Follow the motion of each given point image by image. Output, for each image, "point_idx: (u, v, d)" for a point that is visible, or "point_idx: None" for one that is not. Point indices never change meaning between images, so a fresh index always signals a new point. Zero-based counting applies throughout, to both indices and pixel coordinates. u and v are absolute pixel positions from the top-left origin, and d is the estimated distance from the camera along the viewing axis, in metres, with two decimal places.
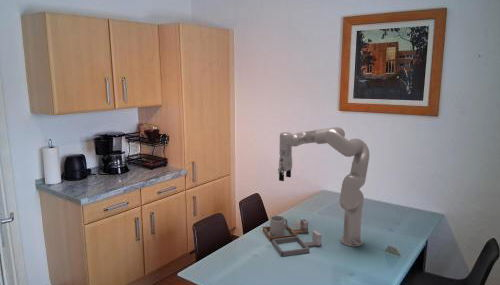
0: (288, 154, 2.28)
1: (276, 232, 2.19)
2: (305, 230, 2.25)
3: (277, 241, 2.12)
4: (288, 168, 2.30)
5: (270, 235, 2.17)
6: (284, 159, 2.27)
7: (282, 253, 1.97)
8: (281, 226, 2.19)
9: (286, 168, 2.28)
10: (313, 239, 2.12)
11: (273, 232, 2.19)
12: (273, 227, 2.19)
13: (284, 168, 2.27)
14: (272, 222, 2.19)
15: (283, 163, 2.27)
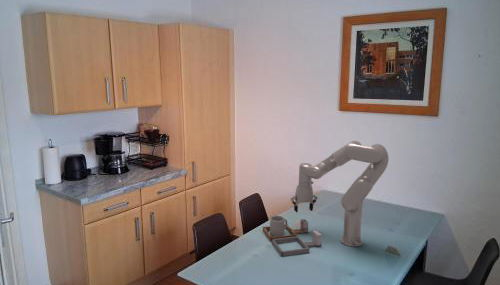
0: None
1: (276, 232, 2.19)
2: (305, 230, 2.25)
3: (277, 241, 2.12)
4: None
5: (270, 235, 2.17)
6: None
7: (282, 253, 1.97)
8: (281, 226, 2.19)
9: None
10: (313, 239, 2.12)
11: (273, 232, 2.19)
12: (273, 227, 2.19)
13: None
14: (272, 222, 2.19)
15: None
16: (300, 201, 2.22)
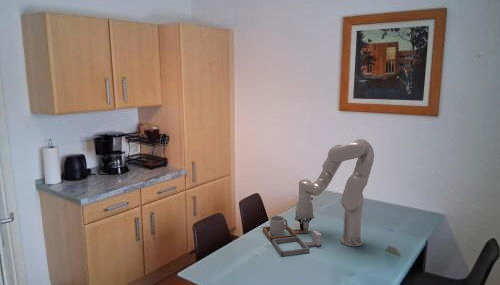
0: None
1: (276, 232, 2.19)
2: (305, 230, 2.25)
3: (277, 241, 2.12)
4: None
5: (270, 235, 2.17)
6: None
7: (282, 253, 1.97)
8: (281, 226, 2.19)
9: None
10: (313, 239, 2.12)
11: (273, 232, 2.19)
12: (273, 227, 2.19)
13: None
14: (272, 222, 2.19)
15: None
16: (300, 217, 2.24)
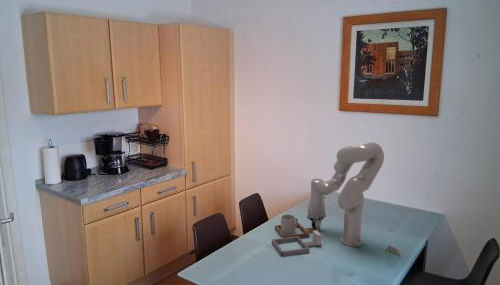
0: None
1: (287, 231, 2.20)
2: (317, 229, 2.27)
3: (277, 241, 2.12)
4: None
5: None
6: None
7: (282, 253, 1.97)
8: (292, 225, 2.20)
9: None
10: (313, 239, 2.12)
11: (284, 231, 2.21)
12: (284, 226, 2.21)
13: None
14: (283, 221, 2.21)
15: None
16: (313, 216, 2.26)
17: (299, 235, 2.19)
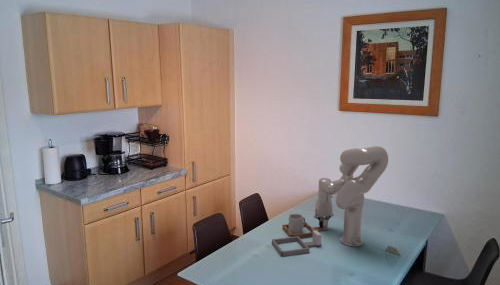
0: None
1: (295, 230, 2.22)
2: (325, 228, 2.28)
3: (277, 241, 2.12)
4: None
5: (291, 233, 2.21)
6: None
7: (282, 253, 1.97)
8: (300, 224, 2.22)
9: None
10: (313, 239, 2.12)
11: (292, 230, 2.22)
12: (292, 225, 2.22)
13: None
14: (291, 220, 2.22)
15: None
16: (320, 215, 2.27)
17: (307, 234, 2.20)
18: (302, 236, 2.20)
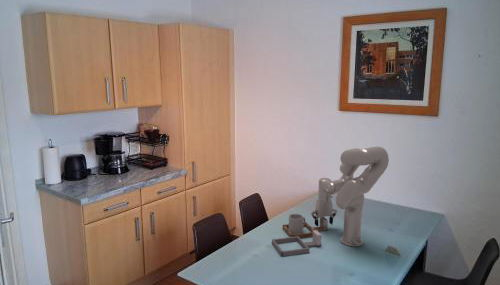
0: None
1: (295, 230, 2.22)
2: (325, 228, 2.28)
3: (277, 241, 2.12)
4: None
5: (291, 233, 2.21)
6: None
7: (282, 253, 1.97)
8: (300, 224, 2.22)
9: None
10: (313, 239, 2.12)
11: (292, 230, 2.22)
12: (292, 225, 2.22)
13: None
14: (291, 220, 2.22)
15: None
16: (320, 215, 2.27)
17: (307, 234, 2.20)
18: (302, 236, 2.20)
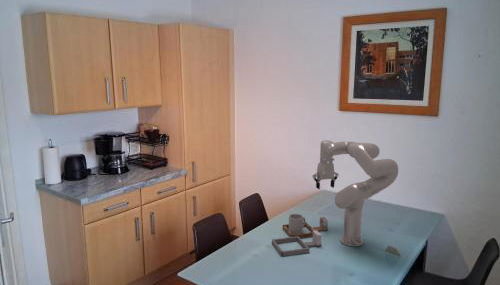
0: None
1: (295, 230, 2.22)
2: (325, 228, 2.28)
3: (277, 241, 2.12)
4: None
5: (291, 233, 2.21)
6: None
7: (282, 253, 1.97)
8: (300, 224, 2.22)
9: None
10: (313, 239, 2.12)
11: (292, 230, 2.22)
12: (292, 225, 2.22)
13: None
14: (291, 220, 2.22)
15: None
16: (322, 178, 2.26)
17: (307, 234, 2.20)
18: (302, 236, 2.20)
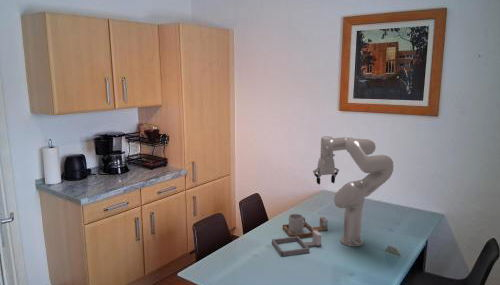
0: None
1: (295, 230, 2.22)
2: (325, 228, 2.28)
3: (277, 241, 2.12)
4: None
5: (291, 233, 2.21)
6: None
7: (282, 253, 1.97)
8: (300, 224, 2.22)
9: None
10: (313, 239, 2.12)
11: (292, 230, 2.22)
12: (292, 225, 2.22)
13: None
14: (291, 220, 2.22)
15: None
16: (322, 173, 2.28)
17: (307, 234, 2.20)
18: (302, 236, 2.20)
